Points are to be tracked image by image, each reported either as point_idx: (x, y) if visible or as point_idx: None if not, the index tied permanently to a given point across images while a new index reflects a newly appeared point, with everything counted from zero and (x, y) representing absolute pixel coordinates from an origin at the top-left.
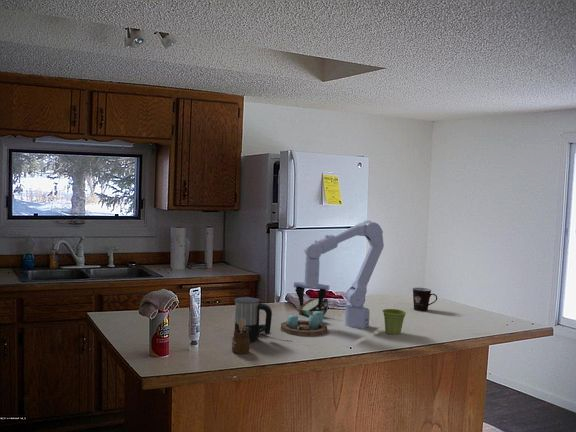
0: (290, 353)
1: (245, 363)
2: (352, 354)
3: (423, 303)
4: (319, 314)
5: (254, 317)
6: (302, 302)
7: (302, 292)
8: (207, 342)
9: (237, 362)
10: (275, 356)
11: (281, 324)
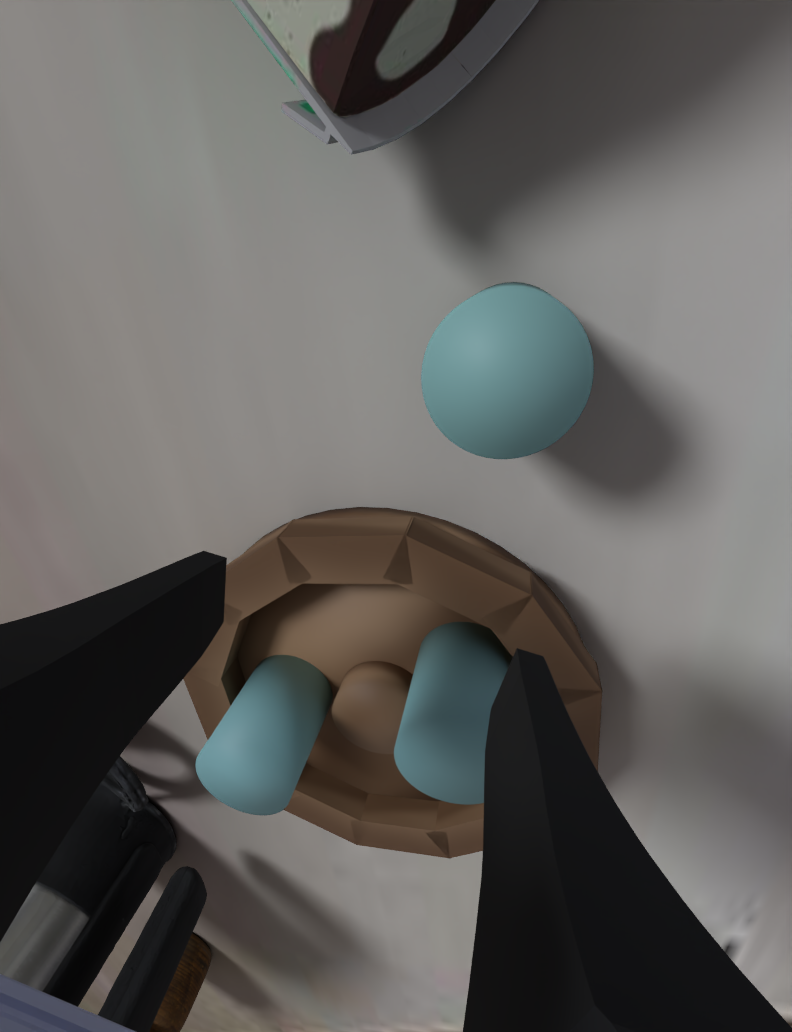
0: (375, 977)
1: (248, 1021)
2: None
3: None
4: (526, 450)
5: None
6: (195, 621)
7: (30, 783)
8: None
9: (221, 1011)
10: (323, 992)
11: (194, 699)
